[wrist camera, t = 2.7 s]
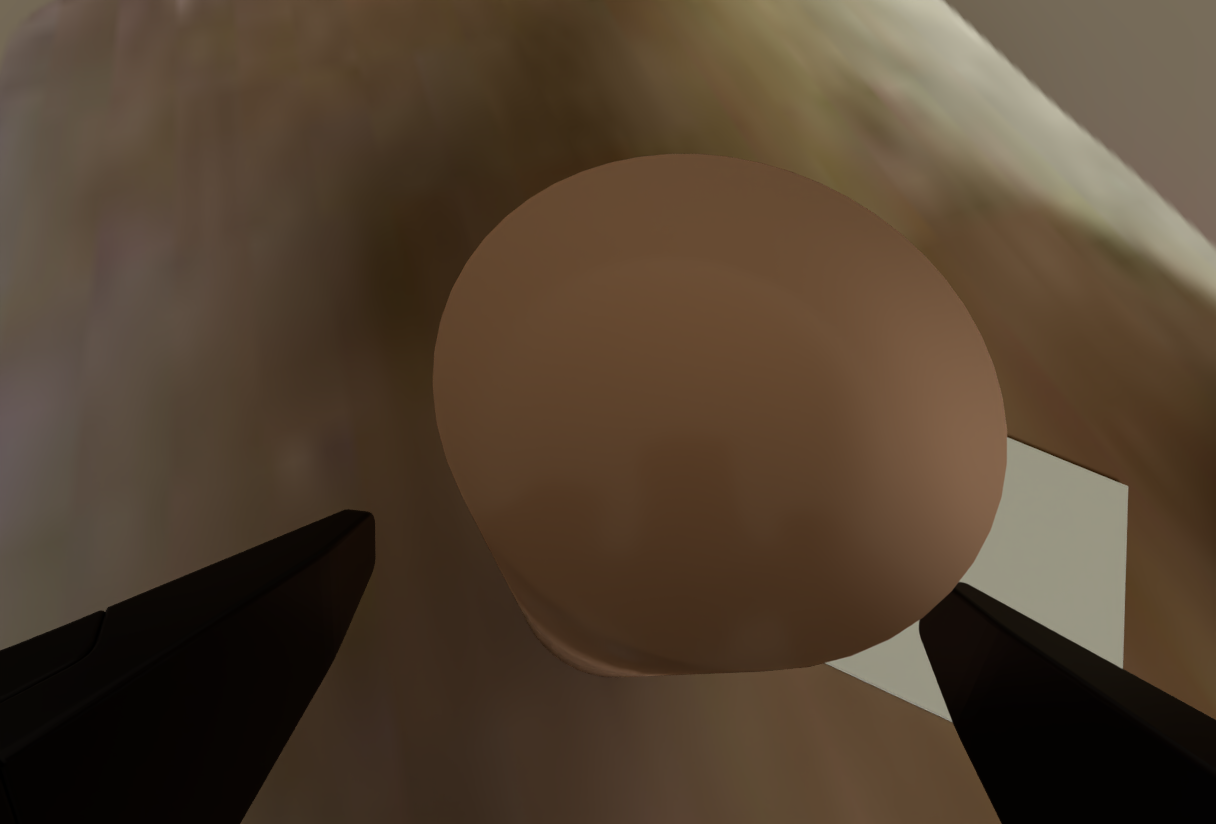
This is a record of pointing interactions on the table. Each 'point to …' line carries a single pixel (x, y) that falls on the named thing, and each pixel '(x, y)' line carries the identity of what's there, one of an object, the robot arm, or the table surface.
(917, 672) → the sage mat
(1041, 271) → the table surface
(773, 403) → the terracotta jar
